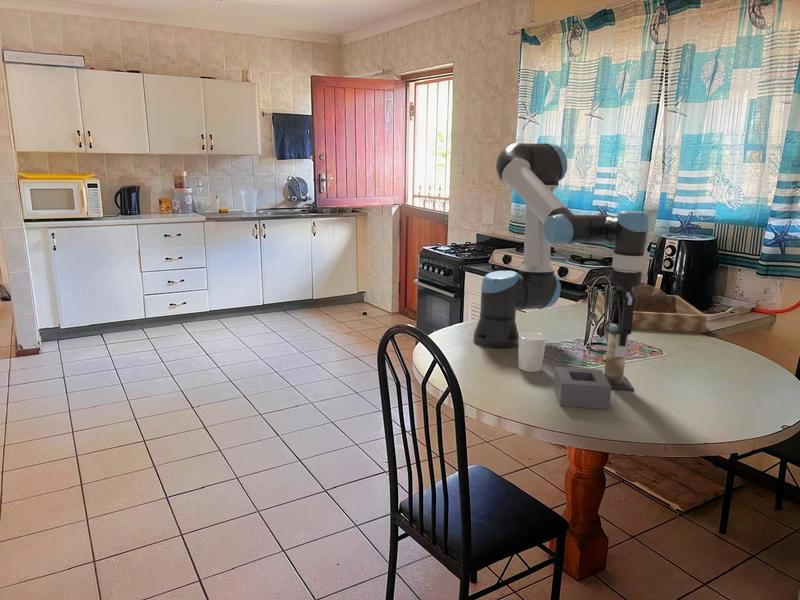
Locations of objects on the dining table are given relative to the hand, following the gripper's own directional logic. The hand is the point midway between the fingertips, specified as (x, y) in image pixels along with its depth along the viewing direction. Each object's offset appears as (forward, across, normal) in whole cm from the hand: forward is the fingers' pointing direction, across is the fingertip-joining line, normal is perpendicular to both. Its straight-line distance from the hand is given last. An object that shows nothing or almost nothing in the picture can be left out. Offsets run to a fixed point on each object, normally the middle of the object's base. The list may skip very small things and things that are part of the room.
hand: (616, 352), depth 162 cm
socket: (+9, -12, +11) cm, 19 cm away
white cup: (+9, +8, +22) cm, 25 cm away
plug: (+9, 0, 0) cm, 9 cm away
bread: (+10, +75, -27) cm, 80 cm away
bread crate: (+9, +74, -29) cm, 80 cm away
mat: (+9, 0, 0) cm, 9 cm away
